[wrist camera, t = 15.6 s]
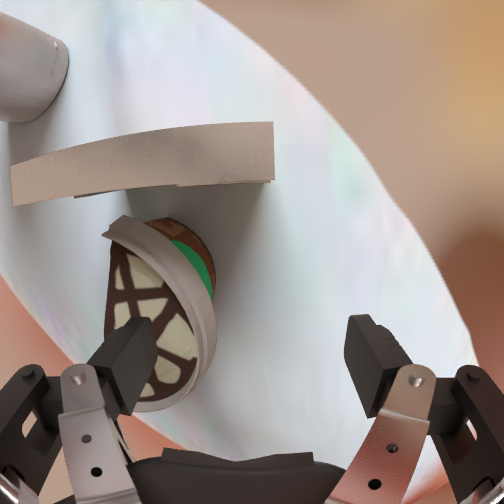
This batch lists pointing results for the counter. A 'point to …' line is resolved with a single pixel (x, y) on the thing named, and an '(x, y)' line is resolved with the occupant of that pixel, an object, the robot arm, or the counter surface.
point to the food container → (164, 301)
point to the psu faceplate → (150, 162)
